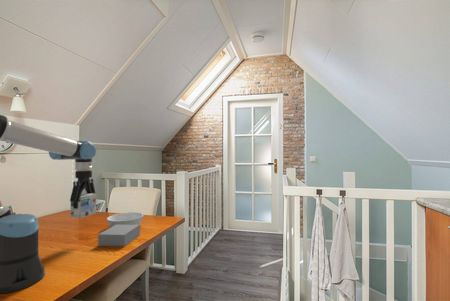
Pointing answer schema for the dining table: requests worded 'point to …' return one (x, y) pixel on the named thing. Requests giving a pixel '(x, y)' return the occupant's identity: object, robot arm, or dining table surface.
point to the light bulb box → (85, 205)
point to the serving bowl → (125, 219)
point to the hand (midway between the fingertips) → (83, 211)
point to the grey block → (118, 235)
